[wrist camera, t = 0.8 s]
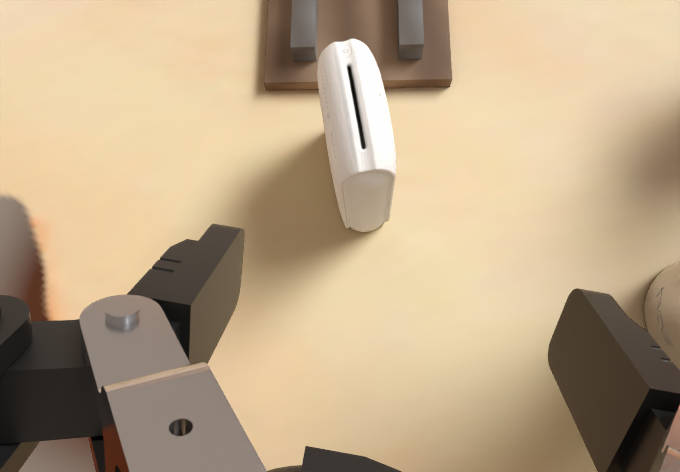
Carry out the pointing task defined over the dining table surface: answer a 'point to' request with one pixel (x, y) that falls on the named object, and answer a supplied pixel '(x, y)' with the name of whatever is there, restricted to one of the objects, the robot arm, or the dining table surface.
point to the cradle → (366, 26)
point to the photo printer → (357, 133)
